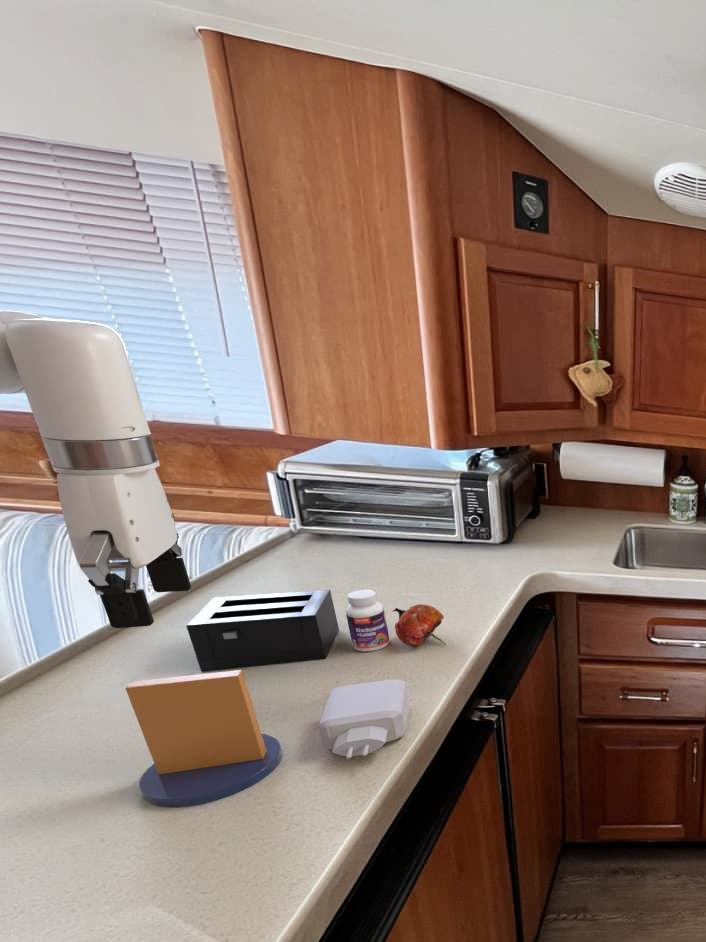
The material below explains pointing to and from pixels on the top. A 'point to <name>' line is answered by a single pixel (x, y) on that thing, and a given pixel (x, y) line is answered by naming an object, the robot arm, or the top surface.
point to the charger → (364, 716)
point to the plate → (208, 779)
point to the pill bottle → (366, 621)
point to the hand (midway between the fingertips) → (154, 607)
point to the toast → (197, 720)
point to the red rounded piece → (417, 624)
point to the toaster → (263, 629)
